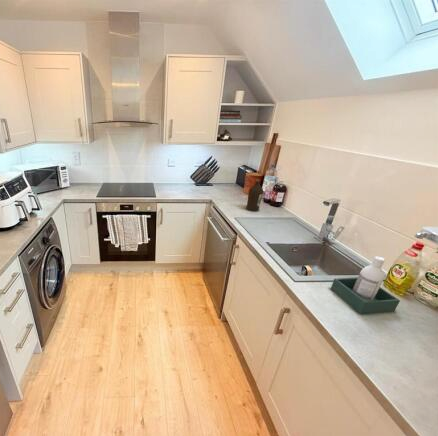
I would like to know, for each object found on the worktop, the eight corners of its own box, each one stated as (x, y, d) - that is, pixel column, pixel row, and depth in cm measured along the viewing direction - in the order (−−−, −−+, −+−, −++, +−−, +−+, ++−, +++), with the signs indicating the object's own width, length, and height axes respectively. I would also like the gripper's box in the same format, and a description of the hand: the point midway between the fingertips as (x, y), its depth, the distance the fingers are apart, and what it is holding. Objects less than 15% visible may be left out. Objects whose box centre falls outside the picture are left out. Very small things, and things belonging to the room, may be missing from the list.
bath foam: (358, 291, 102) (376, 252, 94) (376, 302, 96) (397, 262, 88) (346, 294, 101) (363, 254, 93) (363, 305, 95) (383, 264, 87)
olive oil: (243, 209, 194) (249, 180, 184) (247, 206, 201) (253, 177, 191) (257, 212, 188) (263, 182, 178) (260, 209, 195) (267, 179, 185)
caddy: (360, 286, 106) (365, 276, 104) (394, 311, 93) (400, 300, 91) (330, 288, 105) (334, 278, 103) (360, 313, 92) (365, 302, 90)
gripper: (503, 269, 75) (451, 265, 77) (442, 239, 93) (401, 236, 96) (515, 252, 72) (461, 248, 75) (450, 225, 91) (408, 222, 93)
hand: (427, 241), depth 85 cm, fingers open, 8 cm apart
